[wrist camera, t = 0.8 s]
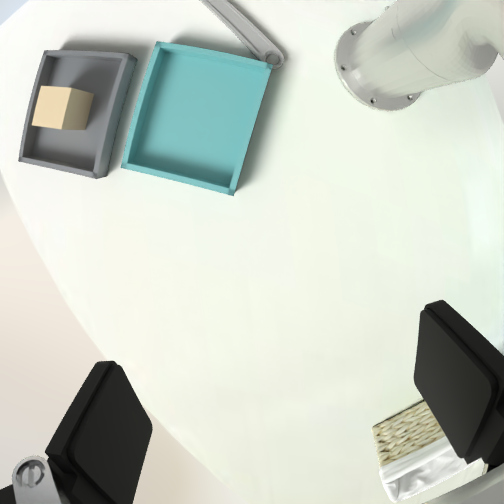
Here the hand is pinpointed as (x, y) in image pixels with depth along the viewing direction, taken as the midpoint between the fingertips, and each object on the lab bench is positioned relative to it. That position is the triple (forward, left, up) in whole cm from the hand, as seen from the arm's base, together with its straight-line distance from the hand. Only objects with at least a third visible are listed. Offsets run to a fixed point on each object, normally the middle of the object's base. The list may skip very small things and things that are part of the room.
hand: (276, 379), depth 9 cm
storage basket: (+33, +46, -32) cm, 65 cm away
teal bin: (-8, -10, -32) cm, 34 cm away
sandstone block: (-6, -27, -31) cm, 42 cm away
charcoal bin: (-6, -27, -32) cm, 42 cm away
